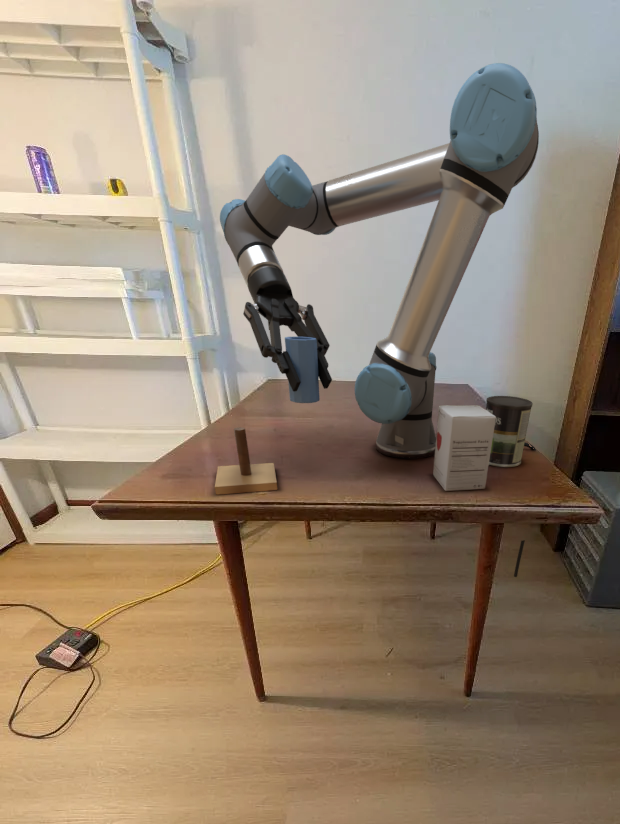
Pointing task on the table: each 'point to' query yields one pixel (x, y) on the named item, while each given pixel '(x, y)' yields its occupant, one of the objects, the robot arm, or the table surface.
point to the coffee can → (508, 429)
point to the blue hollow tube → (304, 368)
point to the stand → (244, 472)
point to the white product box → (463, 447)
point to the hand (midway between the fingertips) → (312, 385)
